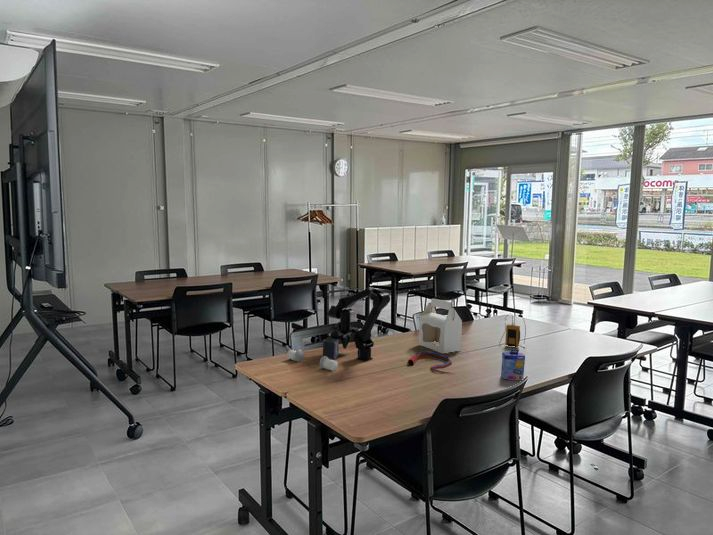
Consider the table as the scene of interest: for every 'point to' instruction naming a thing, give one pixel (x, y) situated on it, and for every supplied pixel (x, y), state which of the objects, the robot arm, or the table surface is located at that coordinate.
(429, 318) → the gable box
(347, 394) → the table surface
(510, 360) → the ink cartridge box
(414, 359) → the toy snake
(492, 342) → the table surface
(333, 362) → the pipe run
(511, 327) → the multimeter
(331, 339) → the small box
